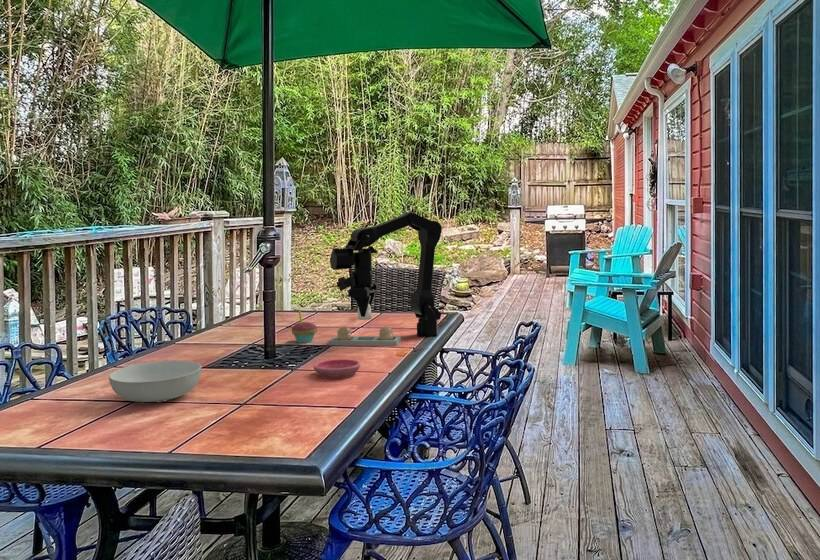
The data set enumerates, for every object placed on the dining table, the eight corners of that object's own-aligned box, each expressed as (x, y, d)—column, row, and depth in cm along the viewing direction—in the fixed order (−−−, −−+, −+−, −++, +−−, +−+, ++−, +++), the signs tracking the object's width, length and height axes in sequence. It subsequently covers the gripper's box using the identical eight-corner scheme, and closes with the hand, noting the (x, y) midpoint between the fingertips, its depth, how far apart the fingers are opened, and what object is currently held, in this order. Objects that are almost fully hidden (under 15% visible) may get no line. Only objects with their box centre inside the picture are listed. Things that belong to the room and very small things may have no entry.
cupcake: (286, 344, 226) (285, 308, 225) (302, 340, 233) (300, 305, 232) (308, 346, 222) (306, 310, 221) (323, 341, 229) (321, 306, 228)
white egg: (372, 317, 223) (372, 301, 223) (369, 319, 219) (369, 303, 219) (359, 317, 224) (358, 301, 224) (356, 319, 220) (355, 303, 219)
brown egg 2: (394, 341, 223) (393, 325, 223) (391, 344, 219) (391, 327, 218) (381, 341, 224) (380, 325, 223) (378, 344, 219) (377, 327, 219)
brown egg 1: (352, 341, 225) (351, 325, 225) (349, 344, 221) (348, 327, 220) (339, 341, 226) (338, 325, 225) (336, 343, 222) (335, 327, 221)
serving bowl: (93, 401, 162) (91, 373, 162) (171, 382, 179) (170, 357, 178) (141, 416, 149) (139, 385, 149) (220, 394, 166) (219, 366, 165)
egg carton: (401, 342, 225) (401, 336, 225) (397, 347, 217) (396, 341, 216) (335, 341, 228) (335, 336, 228) (328, 346, 220) (328, 340, 220)
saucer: (304, 375, 183) (304, 364, 183) (341, 367, 192) (340, 356, 191) (333, 383, 174) (333, 371, 174) (370, 374, 183) (369, 362, 182)
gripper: (345, 265, 230) (347, 311, 232) (331, 270, 212) (333, 320, 213) (377, 265, 229) (379, 311, 230) (366, 270, 210) (367, 320, 212)
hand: (364, 315), depth 221 cm, fingers closed on white egg, 4 cm apart
